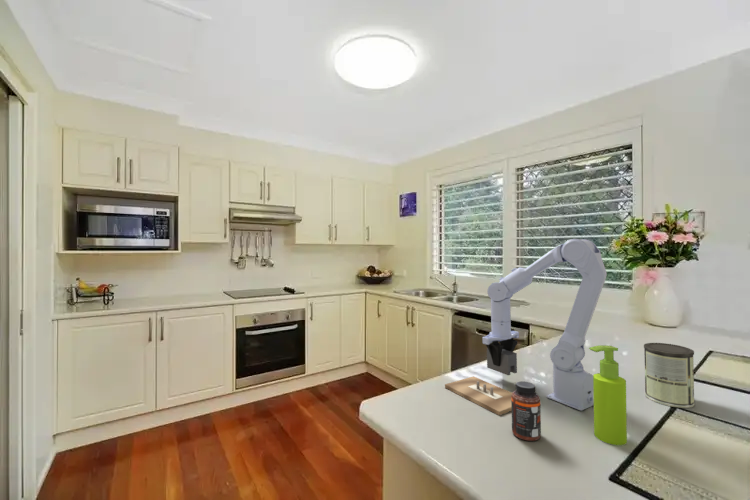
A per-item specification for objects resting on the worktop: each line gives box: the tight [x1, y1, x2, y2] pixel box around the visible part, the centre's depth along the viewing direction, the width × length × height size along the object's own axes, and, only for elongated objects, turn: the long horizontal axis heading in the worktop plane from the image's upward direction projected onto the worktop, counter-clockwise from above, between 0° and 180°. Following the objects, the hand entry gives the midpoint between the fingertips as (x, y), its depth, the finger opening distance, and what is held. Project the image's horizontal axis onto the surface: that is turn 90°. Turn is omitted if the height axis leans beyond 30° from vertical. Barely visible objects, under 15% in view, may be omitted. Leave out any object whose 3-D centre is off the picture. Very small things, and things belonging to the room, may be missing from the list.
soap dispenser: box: [588, 344, 628, 446], centre depth 73 cm, size 6×7×20 cm
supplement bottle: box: [511, 380, 542, 442], centre depth 75 cm, size 6×6×11 cm
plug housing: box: [486, 348, 518, 376], centre depth 105 cm, size 8×4×6 cm, turn 30°
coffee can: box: [643, 342, 696, 409], centre depth 91 cm, size 10×10×14 cm
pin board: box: [444, 376, 513, 416], centre depth 96 cm, size 20×12×3 cm, turn 30°
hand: (501, 363), depth 105 cm, fingers closed on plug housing, 4 cm apart
